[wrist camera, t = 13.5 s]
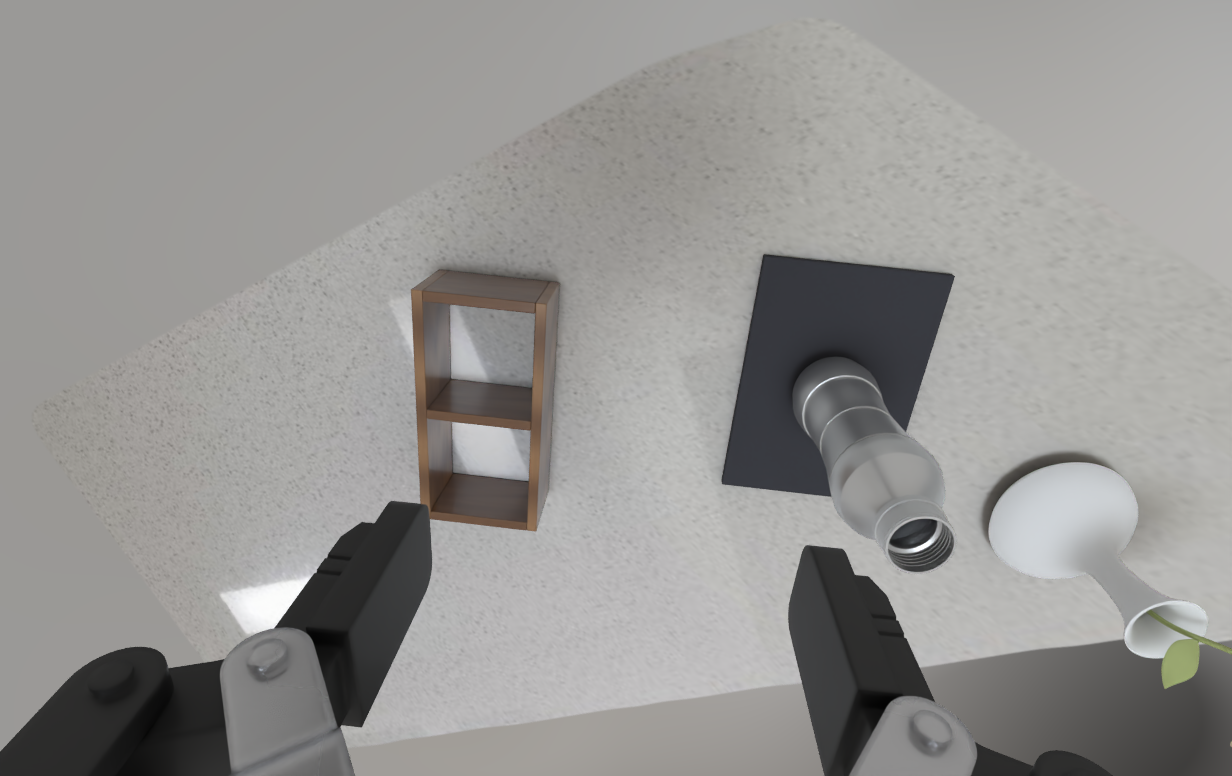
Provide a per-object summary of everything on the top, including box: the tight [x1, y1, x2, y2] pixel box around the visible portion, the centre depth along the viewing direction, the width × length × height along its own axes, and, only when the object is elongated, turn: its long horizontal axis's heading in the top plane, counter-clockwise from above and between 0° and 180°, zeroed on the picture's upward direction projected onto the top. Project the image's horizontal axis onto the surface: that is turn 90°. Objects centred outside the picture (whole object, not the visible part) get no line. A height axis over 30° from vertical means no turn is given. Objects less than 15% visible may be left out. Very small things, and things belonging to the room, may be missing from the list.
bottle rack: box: [411, 270, 560, 531], centre depth 51 cm, size 19×10×6 cm, turn 175°
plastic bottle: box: [792, 357, 957, 574], centre depth 41 cm, size 6×7×20 cm
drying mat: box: [722, 255, 955, 497], centre depth 51 cm, size 20×14×1 cm
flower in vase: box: [989, 462, 1232, 747], centre depth 43 cm, size 13×11×25 cm
